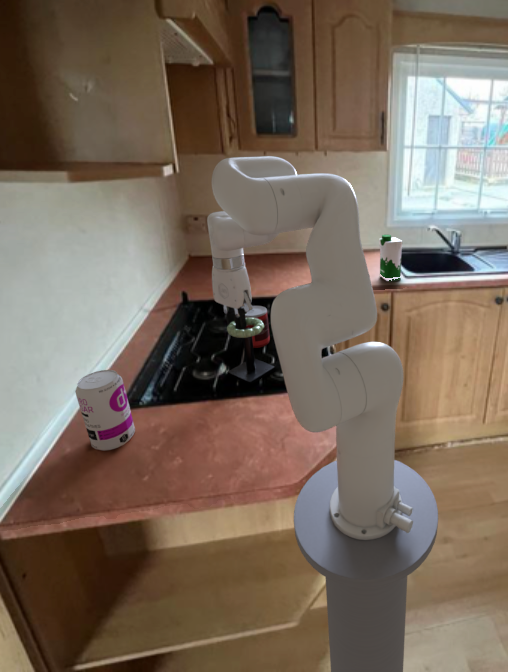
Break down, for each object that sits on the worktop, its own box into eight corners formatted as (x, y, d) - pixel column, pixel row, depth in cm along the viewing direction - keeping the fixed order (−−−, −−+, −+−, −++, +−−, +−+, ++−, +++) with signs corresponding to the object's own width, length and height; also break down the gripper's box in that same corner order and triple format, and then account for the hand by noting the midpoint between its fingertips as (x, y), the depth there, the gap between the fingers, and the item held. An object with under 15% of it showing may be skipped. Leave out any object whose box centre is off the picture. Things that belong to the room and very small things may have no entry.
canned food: (248, 336, 132) (244, 305, 128) (272, 337, 132) (269, 305, 128) (240, 348, 125) (236, 315, 121) (266, 348, 125) (263, 315, 121)
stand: (275, 370, 113) (271, 327, 109) (250, 386, 106) (244, 340, 102) (252, 361, 118) (248, 319, 113) (227, 375, 111) (221, 331, 106)
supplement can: (143, 426, 92) (129, 368, 87) (121, 453, 84) (104, 391, 79) (107, 425, 92) (91, 367, 87) (82, 452, 84) (63, 390, 79)
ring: (271, 328, 109) (270, 321, 108) (244, 342, 102) (243, 335, 101) (247, 320, 114) (246, 313, 113) (220, 333, 107) (219, 326, 106)
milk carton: (377, 276, 187) (377, 233, 180) (395, 274, 190) (396, 232, 183) (385, 283, 179) (385, 238, 172) (403, 280, 182) (405, 236, 175)
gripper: (196, 260, 104) (206, 325, 111) (238, 271, 96) (247, 340, 103) (220, 253, 110) (228, 315, 117) (262, 263, 102) (269, 329, 108)
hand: (237, 326), depth 110 cm, fingers closed on ring, 2 cm apart
